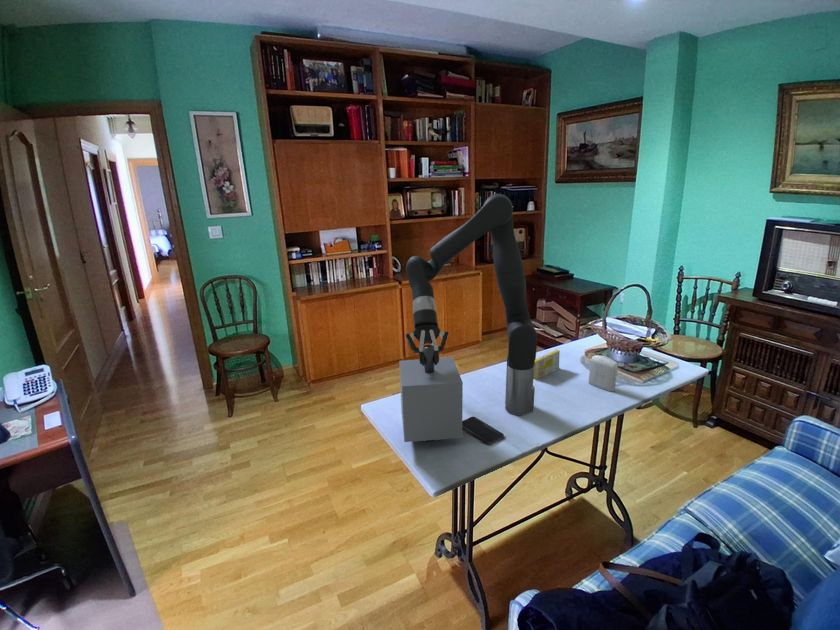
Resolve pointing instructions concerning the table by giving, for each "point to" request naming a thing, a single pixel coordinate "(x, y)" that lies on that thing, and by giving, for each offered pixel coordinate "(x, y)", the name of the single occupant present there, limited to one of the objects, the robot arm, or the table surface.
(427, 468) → the table surface
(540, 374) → the candy box
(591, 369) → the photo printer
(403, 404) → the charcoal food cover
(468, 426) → the black smartphone
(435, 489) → the table surface
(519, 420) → the table surface
